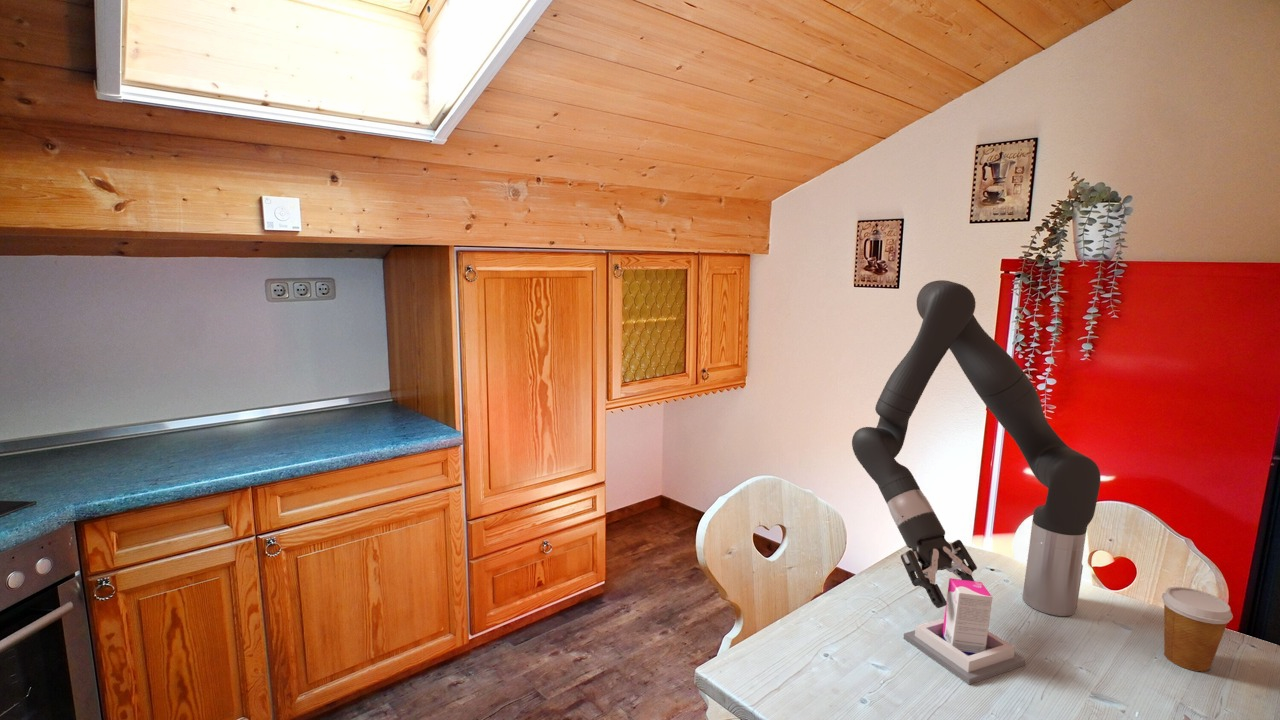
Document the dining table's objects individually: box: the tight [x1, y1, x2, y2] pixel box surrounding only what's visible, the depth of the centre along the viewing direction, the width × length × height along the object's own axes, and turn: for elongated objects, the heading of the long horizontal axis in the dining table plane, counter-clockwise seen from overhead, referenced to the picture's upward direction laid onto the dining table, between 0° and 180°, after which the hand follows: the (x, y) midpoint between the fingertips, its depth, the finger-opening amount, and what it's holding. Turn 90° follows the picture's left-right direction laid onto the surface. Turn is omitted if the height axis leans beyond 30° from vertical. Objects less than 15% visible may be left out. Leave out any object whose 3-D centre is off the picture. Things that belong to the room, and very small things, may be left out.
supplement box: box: [942, 577, 994, 655], centre depth 114 cm, size 6×6×12 cm
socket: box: [903, 617, 1026, 685], centre depth 115 cm, size 14×14×3 cm
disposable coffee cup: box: [1161, 586, 1234, 673], centre depth 113 cm, size 10×10×12 cm
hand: (959, 602), depth 115 cm, fingers open, 8 cm apart
